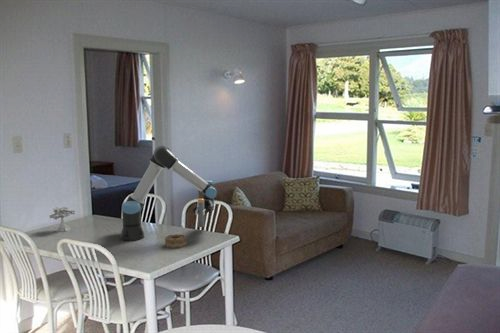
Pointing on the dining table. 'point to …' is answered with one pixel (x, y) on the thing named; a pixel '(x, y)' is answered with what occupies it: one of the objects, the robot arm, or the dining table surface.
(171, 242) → the brown ring
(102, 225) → the dining table surface
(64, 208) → the grey branching stemmed part
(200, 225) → the grey upright bar
